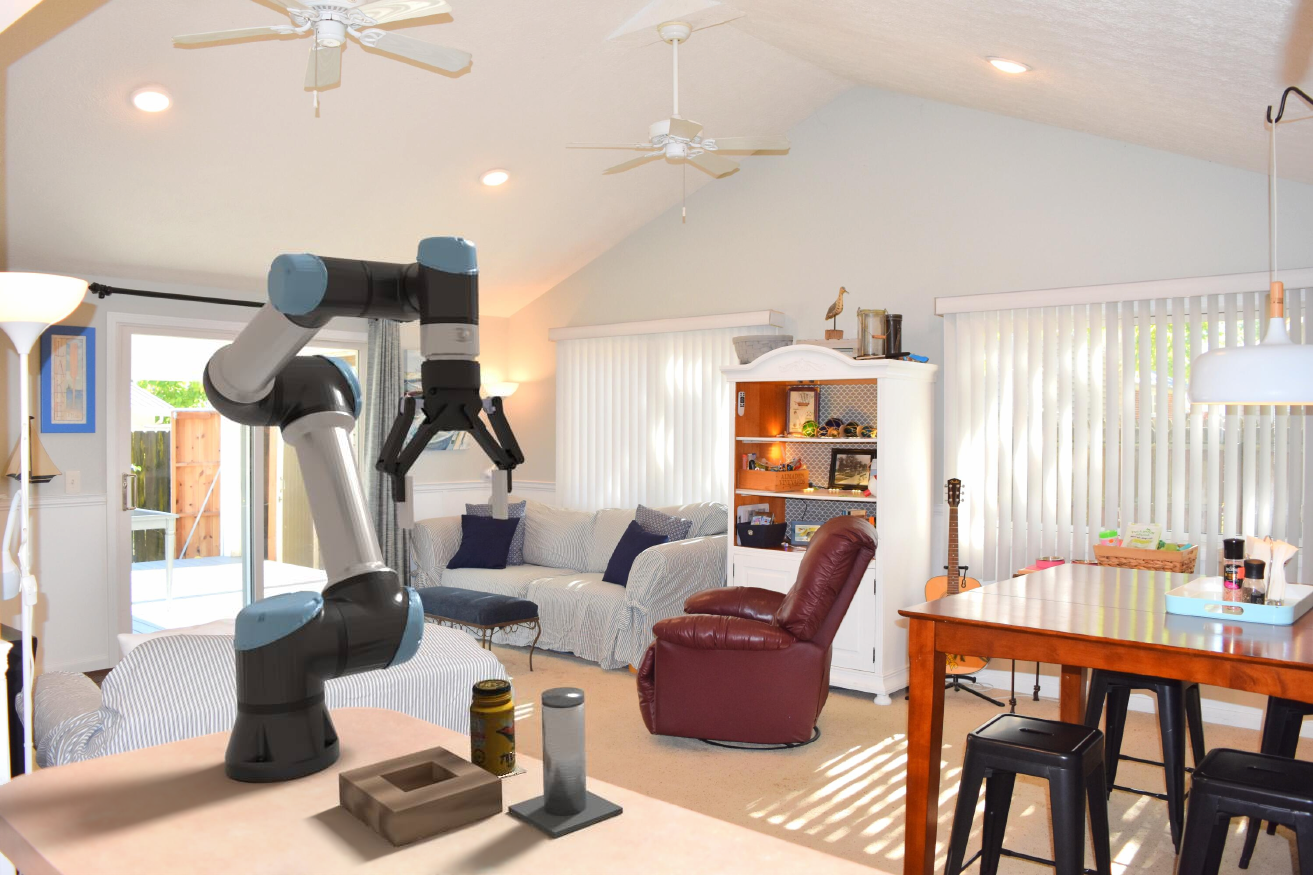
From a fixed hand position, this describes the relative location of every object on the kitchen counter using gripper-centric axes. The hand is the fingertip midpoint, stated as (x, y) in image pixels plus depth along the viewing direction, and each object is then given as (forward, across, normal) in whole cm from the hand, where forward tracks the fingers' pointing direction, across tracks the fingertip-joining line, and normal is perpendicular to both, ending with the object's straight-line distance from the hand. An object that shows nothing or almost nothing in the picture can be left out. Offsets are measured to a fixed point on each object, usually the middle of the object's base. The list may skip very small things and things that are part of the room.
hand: (455, 523), depth 123 cm
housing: (+35, -7, -2) cm, 35 cm away
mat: (+35, +6, -16) cm, 38 cm away
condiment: (+35, +6, +3) cm, 36 cm away
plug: (+34, +6, -16) cm, 38 cm away
